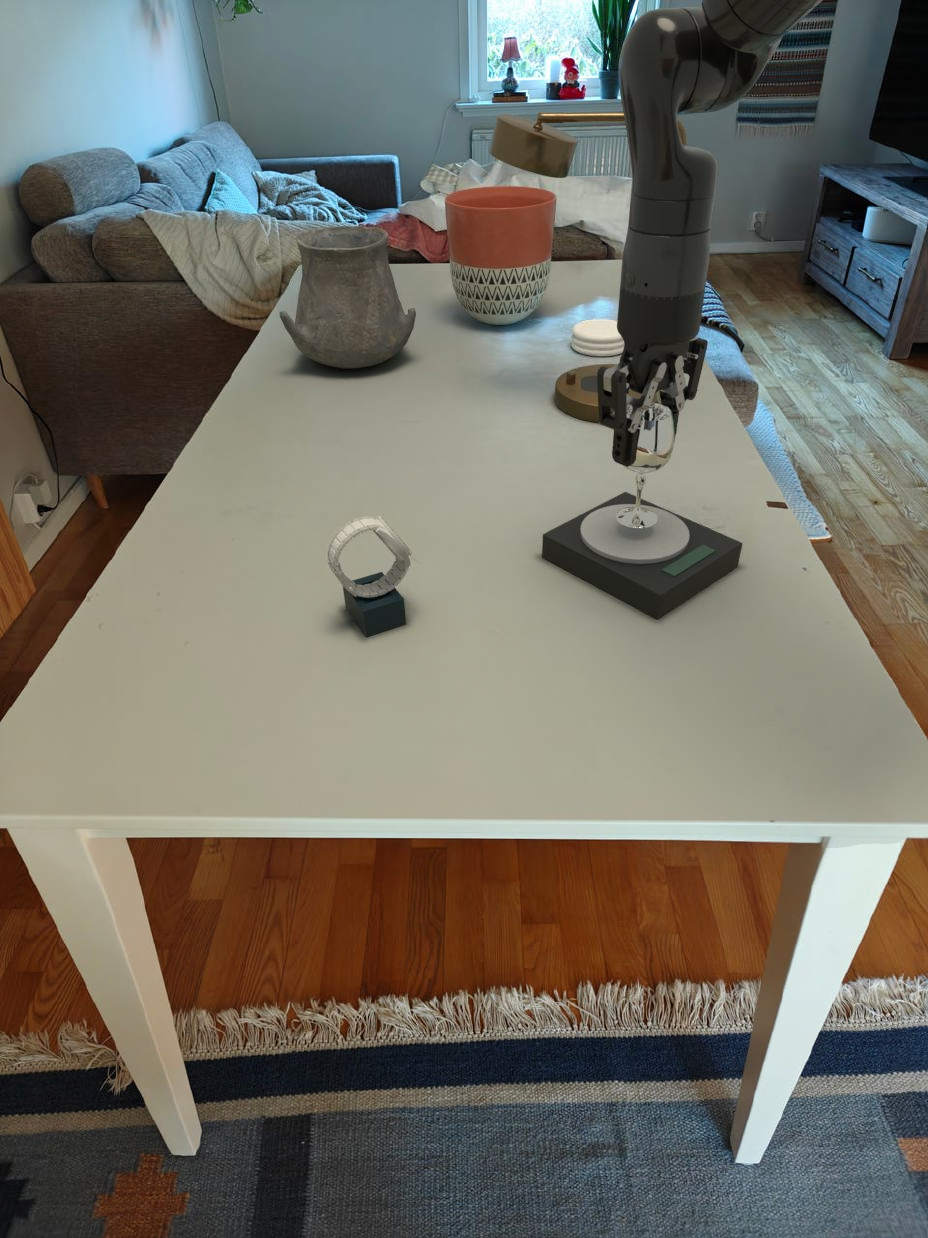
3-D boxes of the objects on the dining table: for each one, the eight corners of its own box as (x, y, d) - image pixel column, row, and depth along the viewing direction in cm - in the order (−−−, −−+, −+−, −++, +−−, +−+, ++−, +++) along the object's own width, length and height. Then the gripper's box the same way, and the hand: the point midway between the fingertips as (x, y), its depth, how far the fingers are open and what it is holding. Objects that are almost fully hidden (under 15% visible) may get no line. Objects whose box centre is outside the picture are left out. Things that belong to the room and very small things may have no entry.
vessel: (412, 332, 157) (405, 214, 145) (421, 376, 139) (414, 246, 127) (293, 339, 155) (276, 221, 143) (287, 385, 137) (267, 254, 125)
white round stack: (614, 361, 143) (616, 340, 140) (561, 351, 147) (562, 331, 145) (637, 343, 149) (639, 322, 147) (586, 334, 154) (587, 314, 152)
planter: (428, 319, 163) (422, 196, 150) (506, 299, 172) (507, 181, 159) (492, 345, 150) (492, 213, 137) (573, 322, 159) (579, 196, 147)
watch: (423, 618, 86) (417, 523, 79) (349, 642, 83) (336, 546, 76) (400, 590, 90) (393, 498, 83) (329, 612, 87) (315, 519, 80)
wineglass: (605, 527, 89) (614, 420, 82) (613, 501, 94) (622, 397, 86) (660, 534, 88) (674, 425, 81) (666, 508, 92) (680, 402, 85)
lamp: (495, 377, 138) (494, 105, 115) (664, 380, 135) (698, 102, 112) (484, 420, 124) (481, 121, 102) (672, 425, 121) (712, 119, 99)
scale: (738, 566, 92) (743, 538, 90) (657, 619, 85) (661, 590, 83) (623, 513, 102) (625, 486, 100) (541, 557, 95) (542, 529, 92)
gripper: (645, 307, 70) (627, 489, 80) (745, 272, 78) (716, 443, 88) (577, 289, 75) (568, 464, 85) (677, 258, 82) (658, 422, 92)
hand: (643, 452), depth 86 cm, fingers closed on wineglass, 5 cm apart
